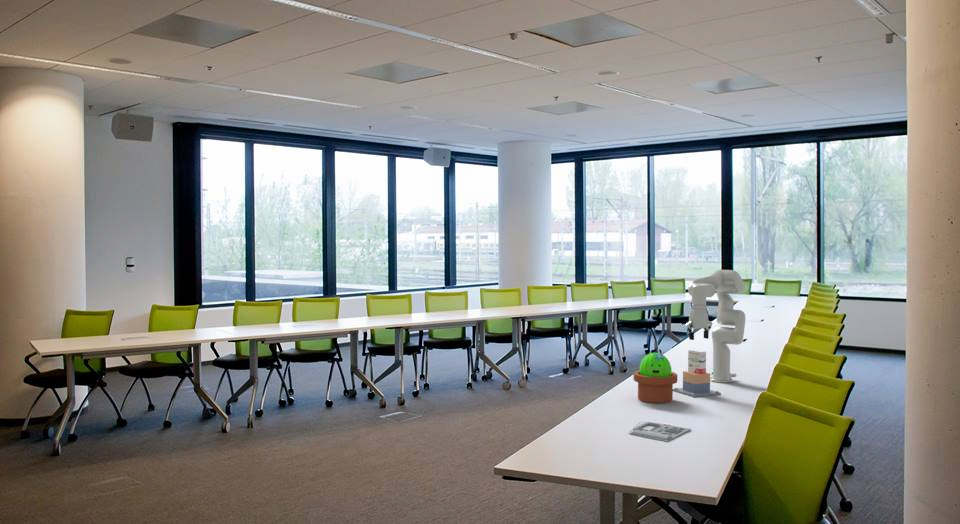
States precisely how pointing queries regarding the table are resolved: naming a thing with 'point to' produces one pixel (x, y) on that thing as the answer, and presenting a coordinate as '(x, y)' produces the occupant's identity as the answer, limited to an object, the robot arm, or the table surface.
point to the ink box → (696, 361)
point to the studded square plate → (696, 385)
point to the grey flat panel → (659, 432)
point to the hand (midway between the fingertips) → (698, 338)
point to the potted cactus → (655, 379)
